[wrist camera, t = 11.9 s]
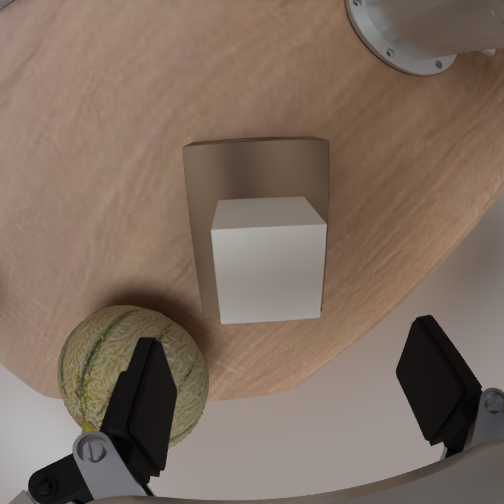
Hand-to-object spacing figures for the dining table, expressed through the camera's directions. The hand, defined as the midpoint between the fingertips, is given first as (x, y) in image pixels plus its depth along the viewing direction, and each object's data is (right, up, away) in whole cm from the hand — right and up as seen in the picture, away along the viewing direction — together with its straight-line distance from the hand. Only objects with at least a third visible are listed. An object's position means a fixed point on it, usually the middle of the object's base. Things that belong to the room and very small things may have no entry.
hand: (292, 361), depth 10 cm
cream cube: (-1, +5, +12) cm, 13 cm away
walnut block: (-1, +7, +16) cm, 18 cm away
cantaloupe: (-13, -5, +22) cm, 26 cm away
